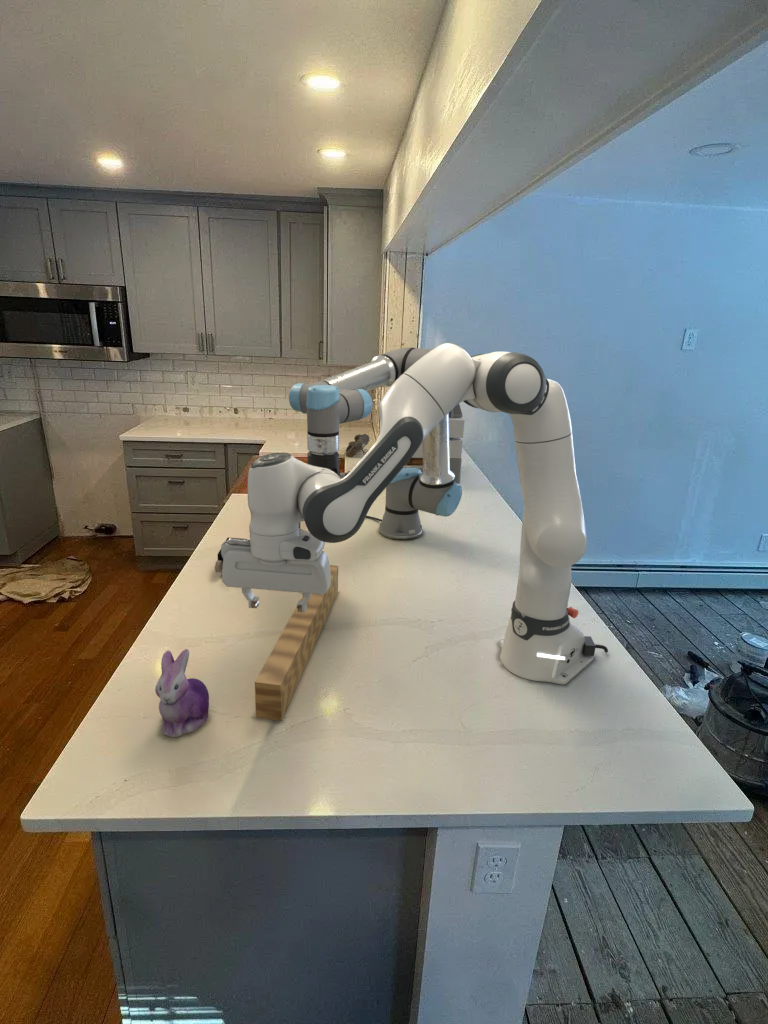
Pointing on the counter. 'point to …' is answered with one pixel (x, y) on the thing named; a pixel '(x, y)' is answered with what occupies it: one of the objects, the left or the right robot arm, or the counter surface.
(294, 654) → the bar
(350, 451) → the fossil
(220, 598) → the counter surface
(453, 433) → the transformer
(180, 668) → the figurine
